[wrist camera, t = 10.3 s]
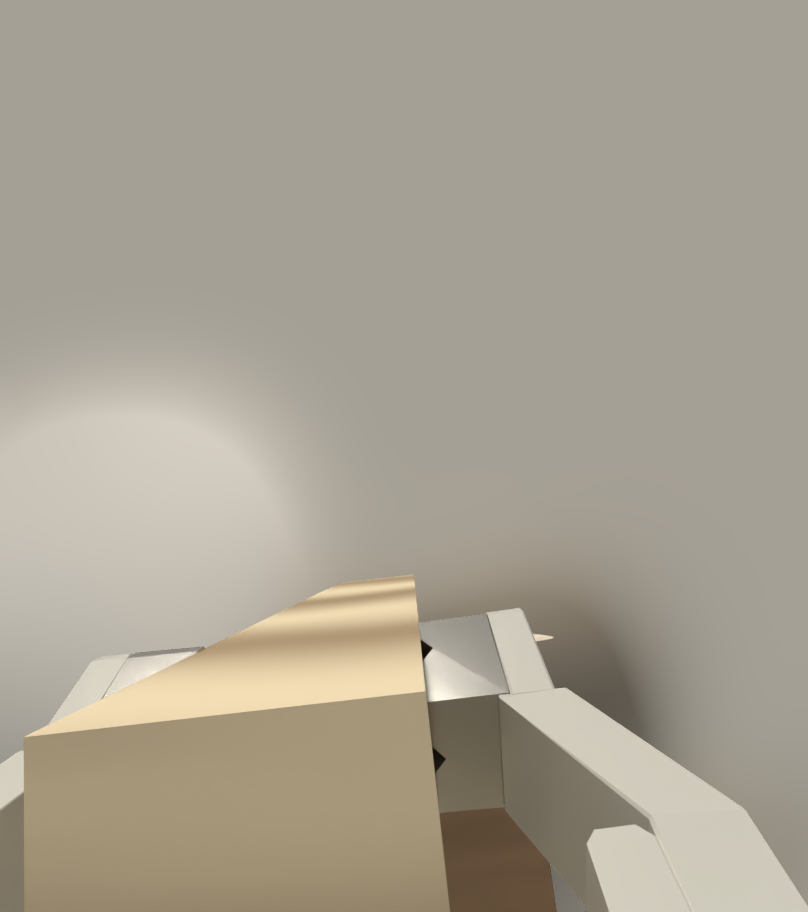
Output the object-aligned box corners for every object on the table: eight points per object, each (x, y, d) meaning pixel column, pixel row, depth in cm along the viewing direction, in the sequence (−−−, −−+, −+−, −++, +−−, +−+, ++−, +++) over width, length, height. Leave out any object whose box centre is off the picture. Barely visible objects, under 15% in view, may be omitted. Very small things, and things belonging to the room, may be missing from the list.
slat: (459, 997, 4) (425, 690, 4) (24, 1046, 4) (23, 736, 4) (419, 625, 23) (413, 574, 23) (344, 634, 23) (340, 583, 23)
